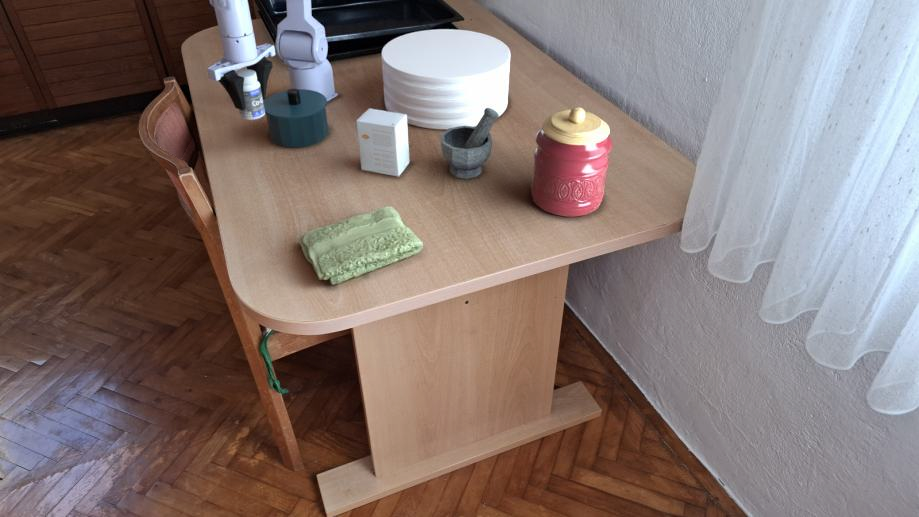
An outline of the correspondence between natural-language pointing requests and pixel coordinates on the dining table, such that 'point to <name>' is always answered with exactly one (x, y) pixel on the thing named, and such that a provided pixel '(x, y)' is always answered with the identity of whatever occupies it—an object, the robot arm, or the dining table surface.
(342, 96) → the dining table surface
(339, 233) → the washcloth
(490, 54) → the plate stack
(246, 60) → the robot arm
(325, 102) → the pot lid
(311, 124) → the pot
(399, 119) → the small box
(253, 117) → the pill bottle
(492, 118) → the mortar and pestle
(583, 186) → the kitchen canister
